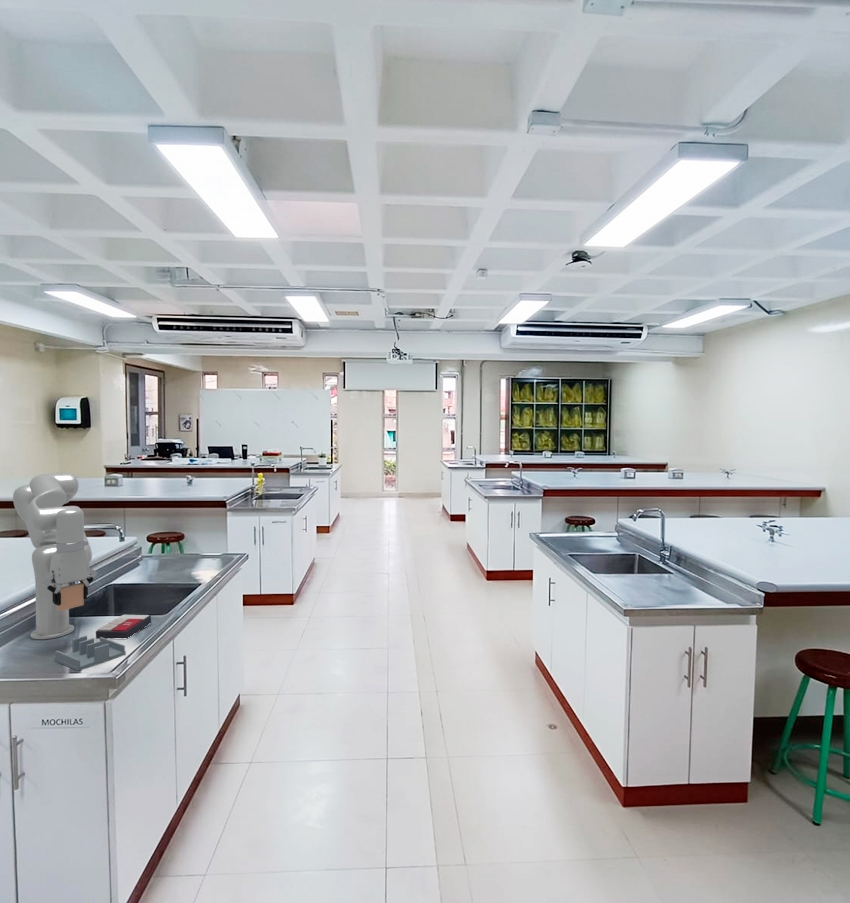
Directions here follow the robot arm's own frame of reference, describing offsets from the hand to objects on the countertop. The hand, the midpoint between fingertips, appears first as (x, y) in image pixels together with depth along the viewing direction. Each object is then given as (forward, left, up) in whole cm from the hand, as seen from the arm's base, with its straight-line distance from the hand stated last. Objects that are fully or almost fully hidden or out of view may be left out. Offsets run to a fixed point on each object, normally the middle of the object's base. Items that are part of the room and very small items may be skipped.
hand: (70, 601), depth 168 cm
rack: (+12, 0, -16) cm, 20 cm away
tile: (0, 0, -2) cm, 2 cm away
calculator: (-2, +18, -17) cm, 25 cm away
